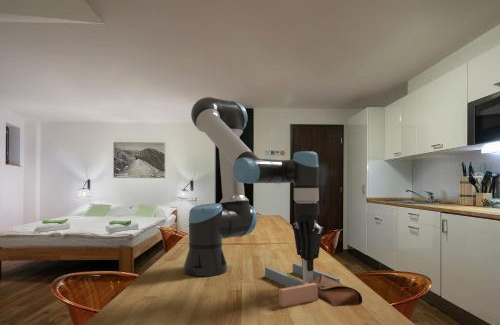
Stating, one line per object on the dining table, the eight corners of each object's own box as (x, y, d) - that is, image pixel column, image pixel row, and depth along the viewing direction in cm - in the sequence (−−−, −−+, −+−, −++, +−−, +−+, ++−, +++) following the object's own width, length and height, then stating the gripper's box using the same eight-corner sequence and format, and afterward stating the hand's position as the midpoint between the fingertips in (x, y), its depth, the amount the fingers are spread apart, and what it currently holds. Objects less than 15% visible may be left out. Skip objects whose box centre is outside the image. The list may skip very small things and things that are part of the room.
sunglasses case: (298, 287, 100) (307, 267, 101) (315, 297, 102) (324, 276, 104) (336, 308, 83) (346, 283, 85) (356, 319, 85) (366, 294, 87)
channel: (305, 295, 92) (305, 284, 92) (264, 276, 112) (264, 267, 112) (339, 289, 98) (339, 278, 98) (295, 271, 117) (295, 263, 118)
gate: (282, 307, 84) (282, 290, 84) (279, 305, 85) (279, 288, 86) (317, 299, 89) (317, 284, 89) (314, 298, 90) (313, 282, 91)
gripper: (330, 202, 99) (332, 284, 97) (303, 200, 110) (304, 274, 109) (309, 203, 95) (311, 288, 94) (284, 201, 107) (285, 277, 105)
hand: (307, 280), depth 101 cm, fingers closed
